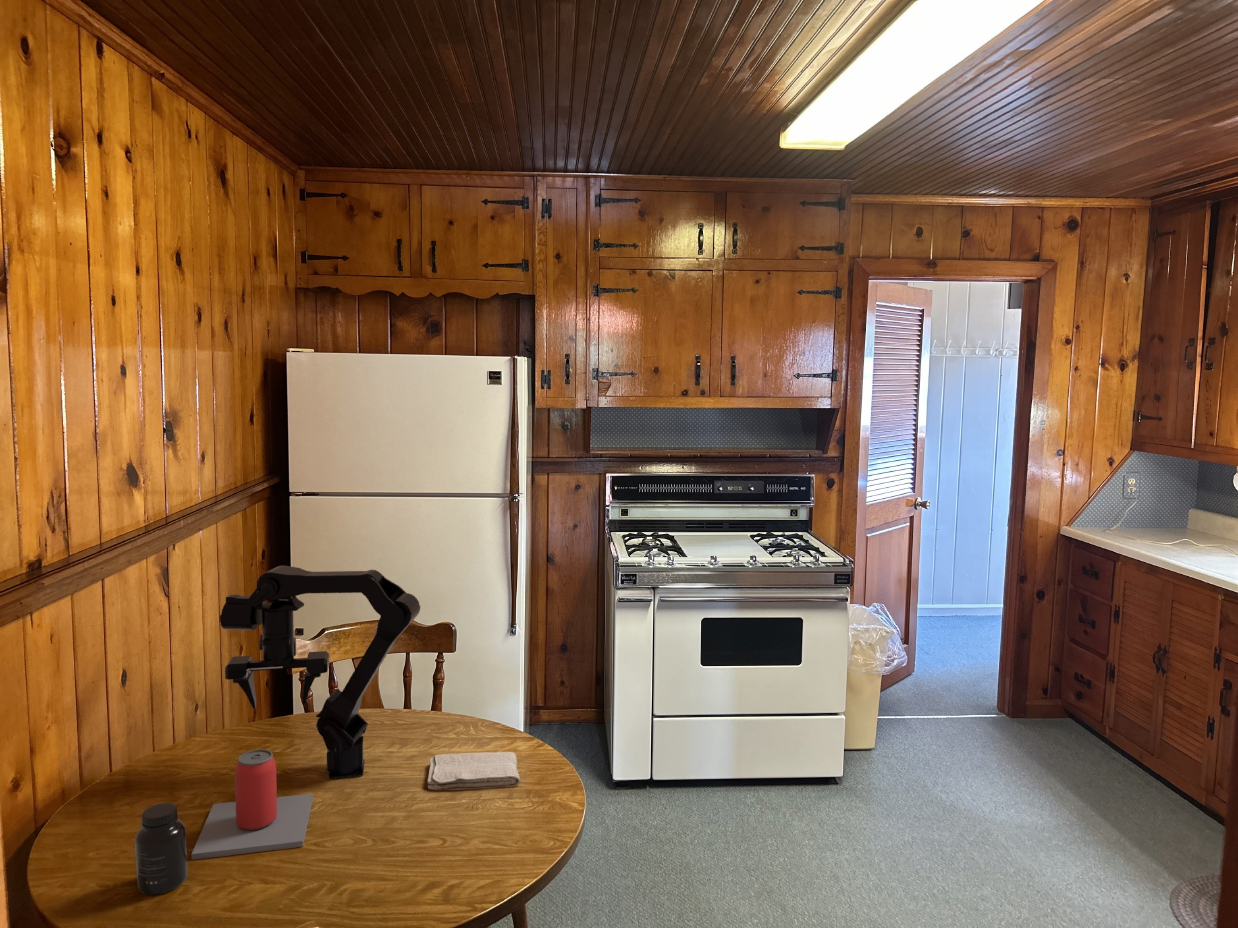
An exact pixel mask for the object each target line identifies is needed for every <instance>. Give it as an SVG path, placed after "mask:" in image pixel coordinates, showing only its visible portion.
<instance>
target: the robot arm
mask: <svg viewBox="0 0 1238 928" xmlns="http://www.w3.org/2000/svg"><path fill="white" fill-rule="evenodd" d="M352 593H353V594H359V593H360V594H362V595H363V596H364V597H366V599H367V601H368V602H369V604H370V606H371V607H372V609H373V610H374V611H375V612H376V613H377V614H378V615H379V616H380V617H379V619H378V621H377V628H376V630H375V635H374V637H373V639H372V640H371V641H370V642H371V643H370V644H369V645H368V647H367V649H366V651H365V652H364V653H363V656H362V657H361V659H360V660H359V662H358V664H357V666H355V669H354V671H353V672H352V674H351V676H350V678H349V680H348V681H347V683H346V684H345V685H344V688H343V689H342V691H341V690H340V689H339V688H336V690H334V692H333V693H331V694H330V695H329V696H328V697H327V698H326V700H325V701H324V703H323V706H322V709H321V710H320V711H319V712H318V713H317V714H316V716H315V717H316V718H318V719H317V721H316V722H315V723H316V726H315V728H316V729H317V732H318V734H319V735H320V736H321V737H322V740H323V742H324V744H325V747H326V772H327V773H328V779H330V780H333V779H343V778H354V777H361V776H364V771H365V759H364V736H363V735H364V734H365V733H366V731H367V729H368V727H369V726H368V725H369V723H368V722H367V721H366V720H365V719H364V718H363V717H362V716H361V715H360V714H359V711H360V708H361V706H362V705H361V704H362V699H363V696H364V694H365V692H366V691H367V689H368V687H369V685H370V684H371V682H372V680H373V679H374V677H375V675H376V674H377V672H378V670H379V668H380V667H381V665H382V664H383V662H384V661H385V658H386V657H387V655H388V654H389V652H390V650H391V649H392V647H393V645H394V643H395V642H396V640H397V639H398V638H399V636H400V635H402V633H404V631H405V630H406V629H407V627H409V625H411V624H412V622H414V620H415V619H416V618H417V617H418V615H419V614H420V610H421V605H420V602H419V599H418V598H417V597H416V596H415V595H414V594H412V593H409V592H408V593H407V591H406V590H404V589H403V588H402V587H401V586H400V585H398V584H396V583H395V582H393V581H391V580H390V579H388V578H387V577H385V576H384V575H383V574H382V573H381V572H379V571H378V570H376V569H367V570H347V571H346V570H344V571H343V570H341V571H340V570H337V571H335V570H334V571H311V570H306V569H303V568H301V567H296V566H295V567H294V566H290V565H278V566H276V567H274V568H271V569H269V570H268V571H266V572H264V573H262V574H261V575H260V576H259V577H258V579H257V581H256V588H255V590H254V591H253V592H252V593H251V595H240V594H232V593H231V594H229V595H227V596H226V597H225V603H224V604H223V606H222V609H221V614H220V616H219V622H220V623H219V624H220V627H221V628H222V629H224V630H232V631H233V630H235V631H254V630H257V629H258V626H260V625H261V626H262V627H261V628H262V634H260V636H259V642H258V643H259V644H258V645H259V646H258V647H259V648H258V649H259V651H262V660H253V658H252V655H240V656H232V657H231V658H230V659H229V660H228V662H227V664H226V665H225V668H224V679H225V680H229V681H230V680H232V683H233V684H237V685H238V686H239V688H241V690H242V691H243V692H244V693H245V696H246V698H247V700H248V702H249V703H250V705H251V707H252V709H253V710H255V709H256V708H257V693H256V689H255V688H256V685H255V680H254V677H255V676H254V675H255V674H254V673H255V672H258V671H274V670H289V669H305V668H306V669H305V674H304V680H303V691H302V698H301V699H302V705H303V706H306V702H307V699H308V695H309V693H310V690H311V687H312V685H313V683H314V681H315V679H316V678H320V677H321V676H322V674H326V673H328V670H329V667H330V653H329V652H328V651H327V650H324V651H323V650H322V651H321V650H320V651H309V652H308V654H307V657H296V655H297V637H295V635H294V625H295V624H294V612H296V611H299V610H300V609H301V608H303V607H304V606H305V603H304V602H303V601H302V600H300V599H299V598H298V597H297V596H300V595H305V594H352ZM267 601H268V602H267ZM295 657H296V658H295Z"/></svg>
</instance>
